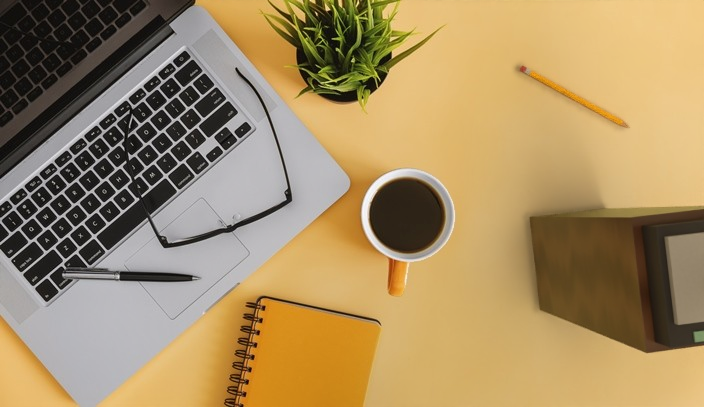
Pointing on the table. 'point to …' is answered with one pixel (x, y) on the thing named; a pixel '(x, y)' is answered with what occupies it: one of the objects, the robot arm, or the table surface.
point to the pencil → (573, 96)
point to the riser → (601, 269)
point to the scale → (676, 281)
